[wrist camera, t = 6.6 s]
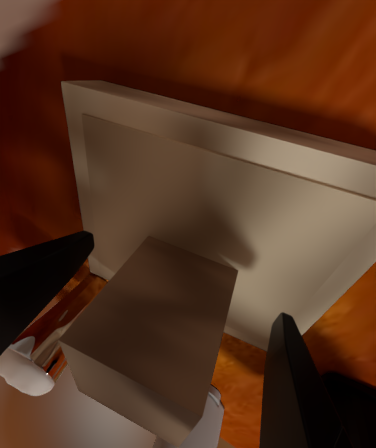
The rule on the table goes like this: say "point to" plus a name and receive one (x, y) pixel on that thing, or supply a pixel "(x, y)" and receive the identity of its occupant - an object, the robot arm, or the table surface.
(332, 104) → the table surface
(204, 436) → the grey ridged slab
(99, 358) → the walnut block
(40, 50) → the table surface
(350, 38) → the table surface
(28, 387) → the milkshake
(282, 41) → the table surface
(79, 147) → the base
